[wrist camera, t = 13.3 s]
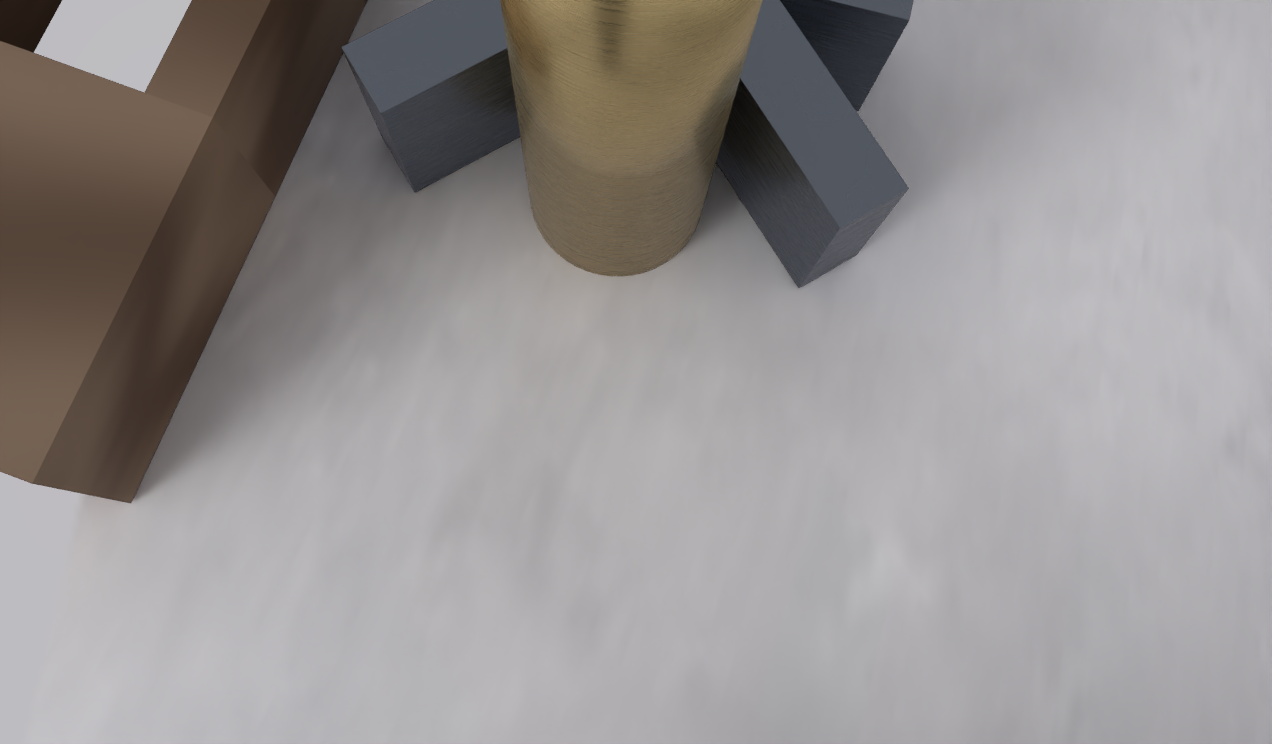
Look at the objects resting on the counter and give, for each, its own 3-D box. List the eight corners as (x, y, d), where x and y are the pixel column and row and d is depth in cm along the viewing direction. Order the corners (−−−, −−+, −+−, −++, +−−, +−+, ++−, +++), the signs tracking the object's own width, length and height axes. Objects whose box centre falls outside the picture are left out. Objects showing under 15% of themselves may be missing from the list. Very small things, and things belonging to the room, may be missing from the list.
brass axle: (623, 311, 23) (670, -91, 10) (494, 197, 24) (364, -339, 10) (738, 189, 24) (931, -345, 10) (611, 81, 25) (636, -566, 11)
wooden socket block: (130, 502, 22) (31, 483, 18) (-214, 374, 22) (-385, 327, 18) (388, -45, 25) (350, -164, 21) (81, -154, 25) (-12, -291, 21)
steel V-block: (847, 300, 24) (898, 242, 20) (367, 180, 24) (323, 99, 20) (900, 43, 25) (958, -58, 21) (448, -69, 25) (422, -191, 21)
